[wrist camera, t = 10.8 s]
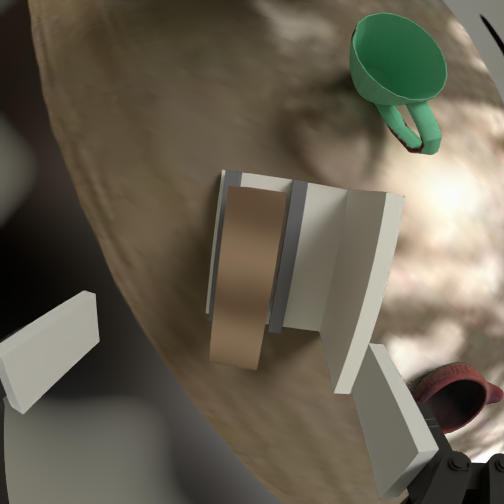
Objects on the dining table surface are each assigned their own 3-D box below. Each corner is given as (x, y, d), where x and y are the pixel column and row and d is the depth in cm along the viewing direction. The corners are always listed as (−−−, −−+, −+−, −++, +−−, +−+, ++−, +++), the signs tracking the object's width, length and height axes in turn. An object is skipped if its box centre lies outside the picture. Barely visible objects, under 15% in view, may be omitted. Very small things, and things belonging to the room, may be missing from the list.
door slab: (247, 186, 31) (228, 186, 20) (283, 192, 31) (286, 194, 19) (231, 306, 35) (208, 361, 23) (264, 312, 34) (256, 370, 23)
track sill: (224, 170, 32) (189, 160, 20) (362, 193, 31) (410, 197, 19) (207, 309, 36) (174, 367, 23) (333, 328, 35) (354, 394, 22)
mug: (320, 58, 28) (333, 17, 19) (389, 47, 27) (418, 10, 17) (366, 170, 31) (399, 164, 21) (432, 151, 29) (479, 143, 20)
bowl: (409, 424, 38) (423, 455, 30) (393, 379, 36) (410, 413, 29) (484, 376, 35) (505, 401, 27) (478, 324, 33) (506, 347, 26)
